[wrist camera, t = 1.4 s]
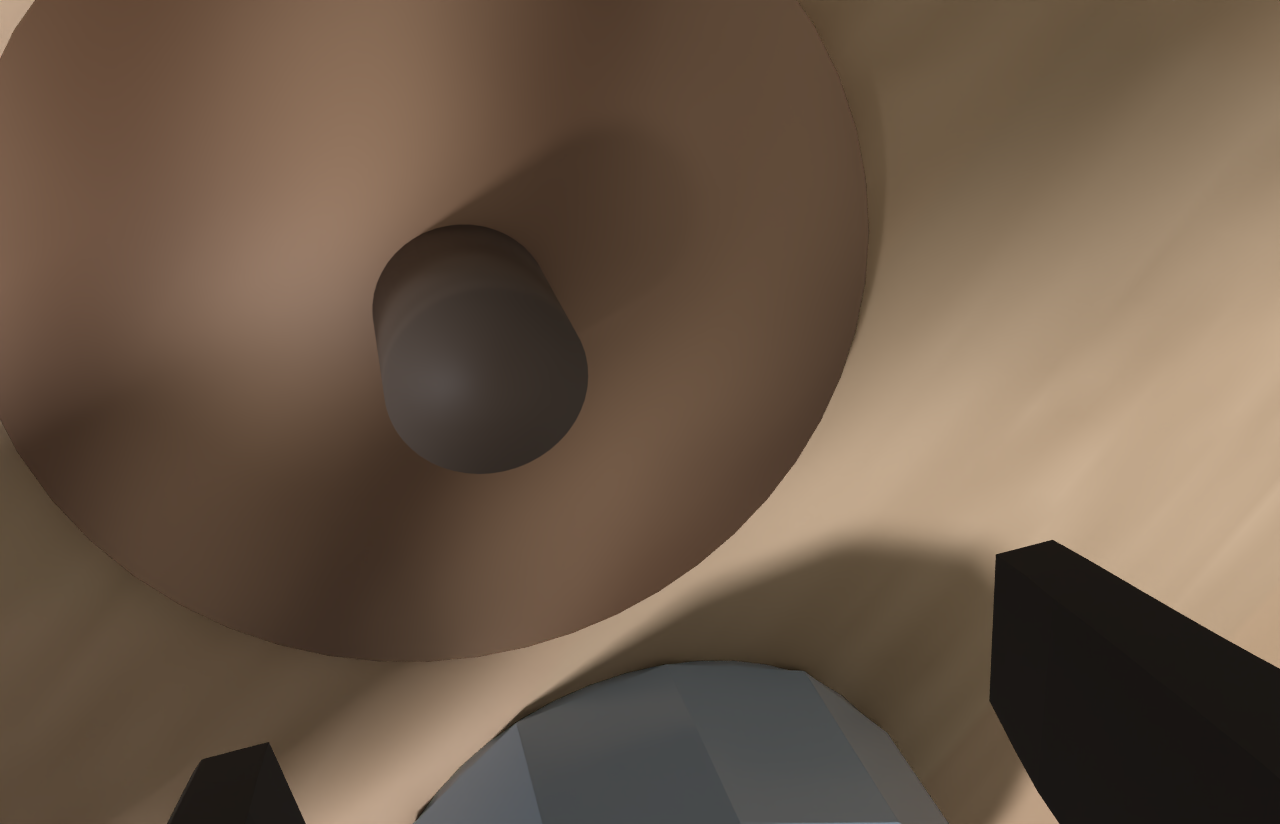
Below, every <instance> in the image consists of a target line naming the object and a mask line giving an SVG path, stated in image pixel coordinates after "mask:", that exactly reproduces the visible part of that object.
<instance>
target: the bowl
mask: <svg viewBox="0 0 1280 824" xmlns="http://www.w3.org/2000/svg"><path fill="white" fill-rule="evenodd" d="M413 824H949V823H948V822H947V820H946V819H945V817H944V816H943V814H942V813H941V811H940V810H939V809H938V807H937V806H936V804H935V803H934V801H933V800H932V798H931V797H930V795H929V794H928V792H927V791H926V789H925V788H924V786H923V785H922V783H921V782H920V780H919V779H918V778H917V776H916V775H915V773H914V772H913V770H912V769H911V767H910V766H909V764H908V763H907V761H906V760H905V758H904V757H903V755H902V754H901V752H900V751H899V749H898V748H897V747H896V745H895V744H894V742H893V741H892V739H891V738H890V736H889V735H888V733H887V732H886V731H884V730H883V729H881V728H880V727H879V726H877V725H876V724H875V723H873V722H872V721H871V720H869V719H868V718H867V717H865V716H864V715H863V714H862V713H861V712H860V711H859V710H857V709H856V708H855V707H854V706H853V705H852V704H851V703H850V702H849V701H847V700H846V699H845V698H844V697H843V696H842V695H840V694H838V693H837V692H835V691H834V690H832V689H830V688H829V687H827V686H825V685H824V684H822V683H821V682H818V681H817V680H816V679H814V678H813V677H812V676H810V675H809V674H808V673H806V672H805V671H795V670H786V669H782V668H778V667H774V666H770V665H766V664H758V663H749V662H740V661H693V662H685V663H676V664H666V665H661V666H656V667H652V668H647V669H643V670H638V671H634V672H629V673H625V674H622V675H619V676H616V677H613V678H610V679H607V680H604V681H601V682H598V683H595V684H592V685H589V686H587V687H585V688H582V689H580V690H578V691H575V692H573V693H571V694H569V695H566V696H564V697H562V698H560V699H557V700H555V701H553V702H551V703H549V704H548V705H546V706H544V707H542V708H541V709H539V710H537V711H535V712H533V713H532V714H530V715H528V716H526V717H525V718H523V719H521V720H519V721H518V722H516V723H515V724H514V725H512V726H511V727H509V728H508V729H507V730H505V731H504V732H502V733H501V734H499V735H498V736H497V737H495V738H494V739H492V740H491V741H490V742H488V743H487V744H486V745H485V746H484V747H482V748H481V749H480V750H479V751H478V752H477V753H476V754H474V755H473V756H472V757H471V758H470V759H469V760H468V761H466V762H465V763H464V764H463V765H462V766H461V767H460V768H459V769H458V770H457V771H456V772H455V773H454V774H453V775H452V776H451V778H450V779H449V780H448V781H447V782H446V783H445V784H444V785H443V786H442V787H441V788H440V790H439V791H438V792H437V793H436V794H435V796H434V797H433V798H432V800H431V801H430V803H429V804H428V805H427V807H426V808H425V810H424V811H423V812H422V814H421V815H420V817H419V818H418V819H417V820H416V821H415V822H414V823H413Z"/></svg>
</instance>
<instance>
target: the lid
mask: <svg viewBox="0 0 1280 824" xmlns="http://www.w3.org/2000/svg"><path fill="white" fill-rule="evenodd" d="M868 237H869V225H868V207H867V189H866V178H865V172H864V167H863V162H862V156H861V151H860V146H859V140H858V135H857V130H856V126H855V123H854V120H853V117H852V114H851V111H850V108H849V105H848V102H847V99H846V96H845V93H844V90H843V87H842V84H841V81H840V78H839V75H838V73H837V71H836V69H835V67H834V65H833V63H832V61H831V59H830V57H829V55H828V53H827V51H826V49H825V47H824V45H823V43H822V40H821V38H820V36H819V34H818V32H817V30H816V28H815V26H814V25H813V23H812V22H811V20H810V19H809V17H808V16H807V14H806V13H805V11H804V10H803V8H802V7H801V5H800V4H799V2H798V1H797V0H35V1H34V3H33V4H32V5H31V7H30V8H29V10H28V11H27V12H26V14H25V15H24V17H23V18H22V20H21V21H20V22H19V24H18V25H17V27H16V28H15V30H14V31H13V33H12V35H11V38H10V40H9V42H8V44H7V46H6V48H5V50H4V52H3V54H2V56H1V58H0V420H1V422H2V423H3V425H4V427H5V429H6V431H7V433H8V435H9V437H10V439H11V441H12V442H13V444H14V446H15V448H16V450H17V452H18V454H19V455H20V456H21V458H22V459H23V461H24V462H25V463H26V465H27V466H28V467H29V469H30V470H31V472H32V473H33V474H34V476H35V477H36V479H37V480H38V481H39V483H40V484H41V486H42V487H43V488H44V490H45V491H46V492H47V494H48V495H49V497H50V498H51V499H52V500H53V502H54V503H55V504H56V505H57V506H58V507H59V508H60V509H61V510H62V511H63V512H64V513H65V514H66V515H67V516H68V517H69V518H70V519H71V521H72V522H73V523H74V524H75V525H76V526H77V527H78V528H79V529H80V530H81V531H82V532H83V533H84V534H85V535H86V536H87V537H88V538H89V540H90V541H92V542H93V543H94V544H95V545H97V546H98V547H99V548H100V549H101V550H103V551H104V552H105V553H106V554H108V555H109V556H110V557H111V558H113V559H114V560H115V561H116V562H117V563H119V564H120V565H121V566H122V567H124V568H125V569H126V570H127V571H128V572H130V573H131V574H132V575H133V576H135V577H137V578H138V579H140V580H141V581H143V582H145V583H146V584H148V585H149V586H151V587H152V588H154V589H156V590H157V591H159V592H160V593H162V594H164V595H165V596H167V597H168V598H170V599H172V600H173V601H175V602H176V603H178V604H180V605H182V606H184V607H186V608H188V609H190V610H192V611H194V612H196V613H199V614H201V615H203V616H205V617H207V618H209V619H211V620H213V621H215V622H218V623H220V624H222V625H224V626H226V627H228V628H231V629H234V630H237V631H240V632H243V633H246V634H249V635H252V636H255V637H258V638H261V639H263V640H266V641H269V642H272V643H275V644H278V645H283V646H287V647H292V648H296V649H301V650H305V651H310V652H314V653H319V654H323V655H328V656H337V657H346V658H355V659H364V660H373V661H426V662H429V661H440V660H450V659H460V658H471V657H480V656H485V655H490V654H495V653H500V652H505V651H510V650H515V649H520V648H525V647H529V646H532V645H535V644H538V643H542V642H545V641H548V640H551V639H555V638H558V637H561V636H564V635H568V634H571V633H574V632H576V631H579V630H581V629H583V628H586V627H588V626H590V625H593V624H595V623H597V622H600V621H602V620H605V619H607V618H609V617H612V616H614V615H616V614H618V613H620V612H622V611H624V610H626V609H628V608H629V607H631V606H633V605H635V604H637V603H639V602H640V601H642V600H644V599H646V598H648V597H650V596H651V595H653V594H655V593H657V592H659V591H660V590H662V589H663V588H665V587H666V586H668V585H669V584H670V583H672V582H673V581H675V580H676V579H678V578H679V577H681V576H682V575H684V574H685V573H686V572H688V571H689V570H691V569H692V568H694V567H695V566H697V565H698V564H699V563H701V562H702V561H703V560H704V559H705V558H706V557H708V556H709V555H710V554H711V553H712V552H713V551H715V550H716V549H717V548H718V547H719V546H720V545H722V544H723V543H724V542H725V541H726V540H728V539H729V538H730V537H731V536H732V535H733V534H735V533H736V531H737V530H738V529H739V528H740V527H741V526H742V525H743V524H744V523H745V522H746V521H747V520H748V519H749V518H750V517H751V516H752V515H753V514H754V513H755V511H756V510H757V509H758V508H759V507H760V506H761V505H762V504H763V503H764V502H765V501H766V500H767V499H768V497H769V496H770V495H771V494H772V492H773V491H774V490H775V488H776V487H777V486H778V484H779V483H780V482H781V480H782V479H783V478H784V477H785V475H786V474H787V473H788V471H789V470H790V469H791V467H792V466H793V465H794V463H795V462H796V461H797V459H798V457H799V456H800V454H801V452H802V451H803V449H804V447H805V446H806V444H807V442H808V441H809V439H810V438H811V436H812V434H813V433H814V431H815V429H816V428H817V426H818V424H819V423H820V421H821V419H822V417H823V414H824V412H825V410H826V408H827V406H828V404H829V401H830V399H831V397H832V395H833V393H834V391H835V388H836V386H837V384H838V382H839V380H840V377H841V375H842V371H843V368H844V365H845V362H846V359H847V356H848V353H849V350H850V347H851V344H852V341H853V338H854V335H855V331H856V327H857V322H858V317H859V312H860V307H861V302H862V296H863V291H864V286H865V280H866V266H867V252H868Z"/></svg>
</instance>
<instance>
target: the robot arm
mask: <svg viewBox="0 0 1280 824" xmlns="http://www.w3.org/2000/svg"><path fill="white" fill-rule="evenodd" d="M989 701H990V703H991V705H992V707H993V708H994V710H995V712H996V714H997V716H998V718H999V720H1000V722H1001V724H1002V726H1003V728H1004V730H1005V732H1006V734H1007V736H1008V738H1009V740H1010V742H1011V743H1012V745H1013V747H1014V749H1015V751H1016V753H1017V755H1018V757H1019V758H1020V760H1021V762H1022V764H1023V766H1024V768H1025V769H1026V771H1027V773H1028V775H1029V777H1030V779H1031V780H1032V782H1033V784H1034V786H1035V788H1036V789H1037V791H1038V793H1039V794H1040V796H1041V797H1042V799H1043V800H1044V802H1045V803H1046V805H1047V806H1048V808H1049V809H1050V811H1051V812H1052V813H1053V815H1054V816H1055V818H1056V819H1057V821H1058V822H1059V824H1280V669H1279V668H1277V667H1275V666H1274V665H1272V664H1270V663H1268V662H1266V661H1264V660H1263V659H1261V658H1259V657H1257V656H1255V655H1253V654H1251V653H1250V652H1248V651H1246V650H1244V649H1242V648H1241V647H1239V646H1237V645H1235V644H1233V643H1232V642H1230V641H1228V640H1226V639H1224V638H1223V637H1221V636H1219V635H1217V634H1216V633H1214V632H1212V631H1210V630H1208V629H1207V628H1205V627H1203V626H1201V625H1200V624H1198V623H1196V622H1194V621H1193V620H1191V619H1189V618H1187V617H1186V616H1184V615H1182V614H1180V613H1179V612H1177V611H1175V610H1174V609H1172V608H1170V607H1168V606H1167V605H1165V604H1163V603H1161V602H1160V601H1158V600H1156V599H1155V598H1153V597H1151V596H1149V595H1148V594H1146V593H1144V592H1143V591H1141V590H1139V589H1137V588H1136V587H1134V586H1132V585H1131V584H1129V583H1127V582H1125V581H1124V580H1122V579H1120V578H1119V577H1117V576H1115V575H1113V574H1112V573H1110V572H1108V571H1107V570H1105V569H1103V568H1101V567H1100V566H1098V565H1096V564H1095V563H1093V562H1091V561H1089V560H1088V559H1086V558H1084V557H1082V556H1081V555H1079V554H1077V553H1075V552H1074V551H1072V550H1070V549H1068V548H1066V547H1065V546H1063V545H1061V544H1059V543H1057V542H1056V541H1054V540H1050V541H1046V542H1043V543H1039V544H1035V545H1031V546H1027V547H1023V548H1019V549H1015V550H1012V551H1008V552H1004V553H1000V554H996V565H995V587H994V610H993V632H992V655H991V677H990V699H989ZM167 824H306V823H305V821H304V819H303V817H302V814H301V812H300V810H299V808H298V806H297V803H296V801H295V799H294V797H293V795H292V792H291V790H290V788H289V786H288V783H287V781H286V779H285V777H284V775H283V772H282V770H281V768H280V766H279V763H278V761H277V759H276V757H275V755H274V752H273V750H272V748H271V746H270V744H269V742H267V743H263V744H260V745H256V746H252V747H248V748H244V749H240V750H236V751H232V752H229V753H225V754H221V755H217V756H213V757H209V758H205V759H202V760H201V762H200V763H199V765H198V766H197V767H196V769H195V770H194V772H193V774H192V776H191V778H190V780H189V782H188V784H187V786H186V787H185V789H184V791H183V793H182V795H181V797H180V799H179V801H178V803H177V805H176V807H175V809H174V811H173V813H172V815H171V817H170V819H169V821H168V823H167Z"/></svg>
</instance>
